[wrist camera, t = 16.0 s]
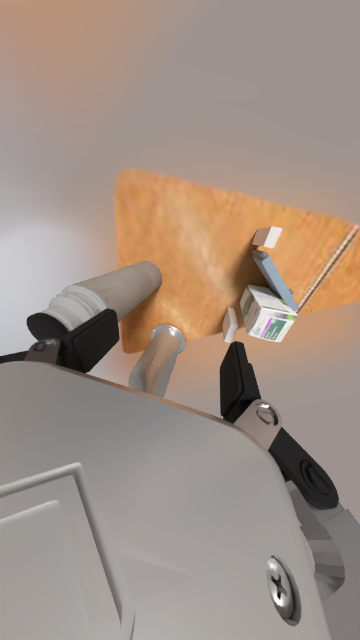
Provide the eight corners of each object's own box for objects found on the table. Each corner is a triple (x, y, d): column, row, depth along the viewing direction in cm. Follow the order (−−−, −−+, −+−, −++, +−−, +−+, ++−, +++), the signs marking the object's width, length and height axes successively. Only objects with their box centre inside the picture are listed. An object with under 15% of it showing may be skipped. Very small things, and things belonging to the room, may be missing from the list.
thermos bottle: (136, 288, 42) (31, 353, 18) (134, 259, 37) (-6, 295, 14) (162, 292, 40) (85, 368, 17) (162, 263, 36) (62, 310, 13)
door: (287, 292, 33) (307, 307, 26) (276, 297, 34) (292, 314, 27) (259, 243, 30) (274, 245, 22) (248, 251, 31) (258, 256, 23)
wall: (228, 323, 41) (230, 343, 33) (222, 322, 41) (223, 341, 33) (265, 230, 29) (282, 228, 21) (257, 229, 29) (271, 226, 21)
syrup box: (260, 308, 37) (282, 344, 24) (237, 304, 37) (247, 336, 25) (270, 287, 34) (301, 316, 21) (245, 283, 34) (261, 308, 22)
